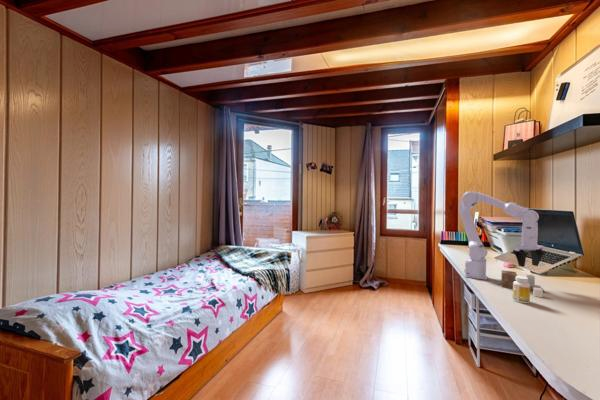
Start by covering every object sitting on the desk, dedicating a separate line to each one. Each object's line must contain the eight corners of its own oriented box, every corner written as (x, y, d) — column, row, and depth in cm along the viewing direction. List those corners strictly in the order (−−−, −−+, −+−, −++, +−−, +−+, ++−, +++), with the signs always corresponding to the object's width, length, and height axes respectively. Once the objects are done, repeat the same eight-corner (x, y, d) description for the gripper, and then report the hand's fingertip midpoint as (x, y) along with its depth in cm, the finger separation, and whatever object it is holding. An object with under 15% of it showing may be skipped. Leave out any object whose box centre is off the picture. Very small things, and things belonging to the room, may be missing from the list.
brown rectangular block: (502, 287, 129) (502, 272, 129) (501, 284, 134) (501, 270, 133) (516, 289, 126) (517, 274, 126) (515, 286, 131) (515, 271, 131)
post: (520, 289, 126) (520, 276, 126) (517, 284, 133) (518, 272, 133) (543, 292, 122) (544, 279, 122) (539, 287, 129) (540, 274, 129)
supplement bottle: (509, 299, 114) (510, 276, 114) (517, 297, 116) (517, 274, 116) (525, 304, 109) (525, 280, 109) (532, 302, 111) (533, 278, 111)
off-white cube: (534, 296, 118) (534, 289, 118) (533, 294, 120) (533, 287, 120) (542, 297, 117) (542, 290, 117) (541, 295, 119) (541, 288, 119)
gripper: (524, 238, 124) (523, 268, 125) (551, 237, 127) (550, 267, 127) (510, 235, 131) (509, 264, 132) (535, 235, 134) (534, 263, 134)
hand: (528, 265), depth 130 cm, fingers open, 7 cm apart
